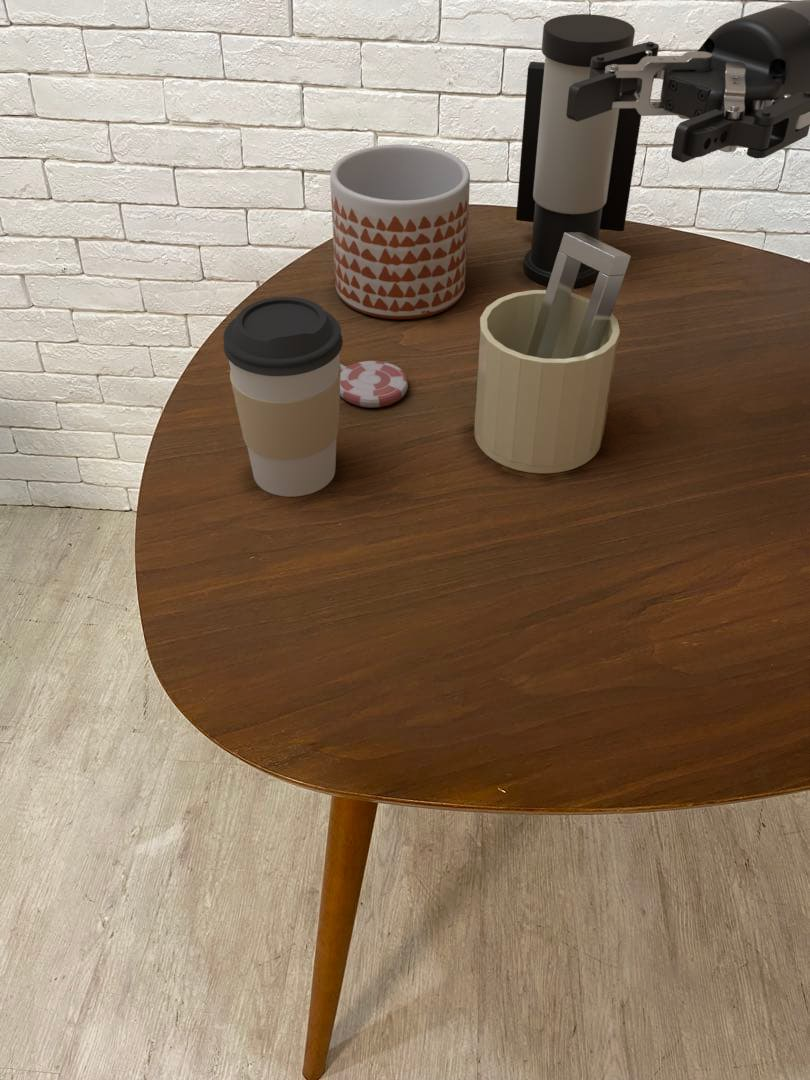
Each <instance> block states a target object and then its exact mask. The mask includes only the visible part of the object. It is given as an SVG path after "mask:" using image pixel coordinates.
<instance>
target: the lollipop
mask: <svg viewBox="0 0 810 1080" xmlns="http://www.w3.org/2000/svg"><path fill="white" fill-rule="evenodd" d="M339 364H340V367H341V376H340V397H341V399H344V400H345V401H346V402H347V403H349V404H351V405H354V406H357V407H361V408H370V409H371V408H383V407H385V406H386V407H387V406H390V405H393V404H394V403H397V402H398V401H400V400H401V399H402V398H403V397H404V396H405V395H406V393H407V390H408V388H409V380H408V376H407V375H406V373H405V371H403V369H401V368H400V367H398V366H397V365H396V364H393V363H390V362H387V361H382V360H365V361H364V360H363V361H359V362H355V363H353V364H351V365H348V366H346V365H343V364H342V363H340V362H339Z"/></svg>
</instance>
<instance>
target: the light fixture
mask: <svg viewBox="0 0 810 1080" xmlns="http://www.w3.org/2000/svg"><path fill="white" fill-rule="evenodd" d="M542 27H543V28H542V39H541V53H542V54H543V56H544V62H543V61H542V62H541V61H530V62H529V63H528V67H527V73H526V75H527V76H526V85H525V86H526V88H525V100H524V113H523V125H522V135H521V137H522V139H521V151H520V162H519V163H520V164H519V173H518V174H519V176H518V187H517V201H516V212H515V213H516V214H515V220H516V221H519V222H526V223H527V222H528V223H532V236H531V247H530V249H529V250H527V252H525V255H524V257H523V272H524V274H525V275H526V276H527V278H529V279H530V280H532V281H533V282H535V283H537V284H539V285H542V286H545V287H548V283H549V280H550V277H551V274H552V270H553V267H554V264H555V260H556V257H557V254H558V252H559V248H560V245H561V241H562V238H563V235H564V233H566V232H582V233H584V234H586V235H588V236H590V237H592V238H594V239H597V240H599V238H600V230H603V231H614V232H624V230H625V227H626V226H625V225H626V220H627V219H626V218H627V212H628V207H629V206H628V205H629V201H630V200H629V199H630V193H631V186H632V180H633V173H634V167H635V160H636V156H637V149H638V142H639V141H638V140H639V135H640V128H641V123H642V122H641V121H642V116H641V115H640V114H639V113H638V112H637V110H636V109H635V108H627V109H612V110H610V111H607V112H604V113H601V114H598V115H595V116H593V117H590V118H587V119H584V120H581V121H578V122H577V121H574V120H572V119H569V118H568V117H567V115H566V112H567V103H568V93H569V87H570V86H571V85H573V84H574V83H577V82H580V81H583V80H586V79H589V74H590V66H591V58H592V57H594V56H598V55H601V54H605V53H609V52H612V51H616V50H620V49H623V48H627V47H631V46H634V39H635V33H636V30H635V29H636V28H635V27H634V25H632V24H631V23H629V22H628V21H626V20H623V19H620V18H617V17H613V16H608V15H601V14H590V13H589V14H588V13H579V14H577V13H576V14H575V13H574V14H566V15H565V14H564V15H560V16H556V17H553V18H550V19H548V20H547V21H546V22H544V24H543V26H542ZM635 92H636V89H632V90H629V91H626V92H622V93H620V95H633V94H634V93H635ZM598 274H599V271H597V270H595V269H593V268H591V267H589V266H587V265H585V264H583V263H581V265H580V268H579V271H578V274H577V278H576V281H575V284H574V287H573V289H577V288H583V287H585V286H588V285H590V284H592V283H594V282H596V280H597V277H598Z"/></svg>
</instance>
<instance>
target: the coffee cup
mask: <svg viewBox="0 0 810 1080" xmlns="http://www.w3.org/2000/svg"><path fill="white" fill-rule="evenodd" d="M222 339H223V353H224V355H225V357H226V358H227V360H228V364H229V368H230V372H229V379H230V383H231V388H232V392H233V397H234V401H235V406H236V411H237V416H238V419H239V420H238V421H239V424H240V429H241V430H240V431H241V433H242V439H243V442H244V443H245V445H246V447H247V452H248V457H249V461H250V466H251V471H252V475H253V479H254V482H255V483H256V485H257V486H258V487H259V488H260V489H262V490H263V491H264V492H267V493H269V494H271V495H274V496H279V497H286V498H287V497H288V498H289V497H290V498H293V497H295V498H296V497H303V496H307V495H308V496H309V495H311V494H314V493H316V492H319V491H321V490H322V489H324V488H325V487H327V485H329V484H330V483H331V481H332V480H333V478H334V477H335V474H336V462H337V437H338V434H339V427H340V426H339V421H340V403H341V402H340V399H341V398H340V397H341V395H340V376H341V372H342V371H341V367H340V364H341V363H340V354H341V353H340V352H341V351H342V348H343V344H344V340H343V335H342V327H341V324H340V323H339V321H338V320H337V319H336V317H334V316H333V315H332V314H331V313H329V312H328V311H326V310H325V309H324V308H323V307H322V306H321V305H320V304H318V303H317V302H314V301H312V300H309V299H305V298H303V297H296V296H278V297H277V296H276V297H270V298H265V299H260V300H258V301H255V302H253V303H250V304H249V305H247V306H245V307H244V308H243V309H242V310H241V311H240V312H239V313H238V314H237V316H236V317H235V318H233V319H232V320H231V321H230V322H229V323H228V325H227V326H226V328H225V329H224V330H223V336H222ZM339 363H340V364H339Z"/></svg>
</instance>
